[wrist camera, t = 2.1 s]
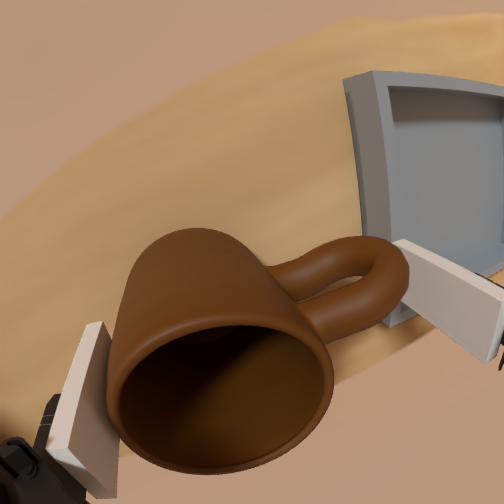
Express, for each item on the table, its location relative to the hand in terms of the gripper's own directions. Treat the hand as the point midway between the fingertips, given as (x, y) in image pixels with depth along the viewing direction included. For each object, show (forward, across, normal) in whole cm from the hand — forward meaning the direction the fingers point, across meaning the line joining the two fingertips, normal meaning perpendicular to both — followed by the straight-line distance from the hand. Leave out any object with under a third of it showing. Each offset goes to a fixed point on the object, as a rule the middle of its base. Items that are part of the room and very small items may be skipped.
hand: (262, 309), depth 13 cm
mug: (+5, -1, 0) cm, 5 cm away
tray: (+5, +16, +2) cm, 17 cm away
